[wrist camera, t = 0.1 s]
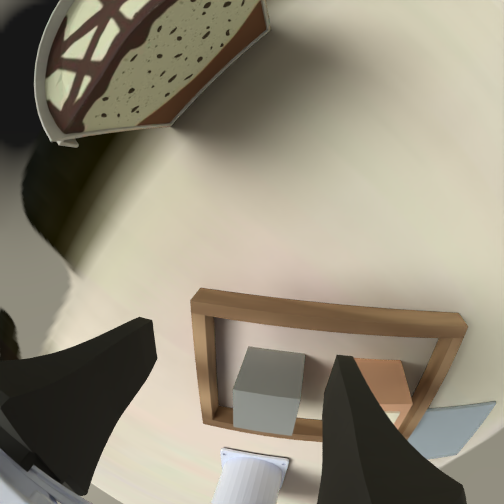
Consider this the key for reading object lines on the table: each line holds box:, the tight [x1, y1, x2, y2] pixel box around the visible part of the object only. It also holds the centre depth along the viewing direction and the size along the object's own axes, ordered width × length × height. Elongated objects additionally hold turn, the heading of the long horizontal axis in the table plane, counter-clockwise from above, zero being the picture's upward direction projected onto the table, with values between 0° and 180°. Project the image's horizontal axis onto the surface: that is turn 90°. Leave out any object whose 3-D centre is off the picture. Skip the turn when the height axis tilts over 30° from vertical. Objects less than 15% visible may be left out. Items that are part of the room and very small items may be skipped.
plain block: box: [233, 346, 305, 436], centre depth 21 cm, size 4×4×5 cm
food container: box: [34, 0, 271, 148], centre depth 11 cm, size 12×6×10 cm, turn 133°
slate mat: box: [407, 401, 496, 459], centre depth 22 cm, size 10×10×1 cm
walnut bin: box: [190, 288, 468, 442], centre depth 21 cm, size 14×20×2 cm
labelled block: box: [354, 358, 413, 429], centre depth 19 cm, size 4×4×5 cm
